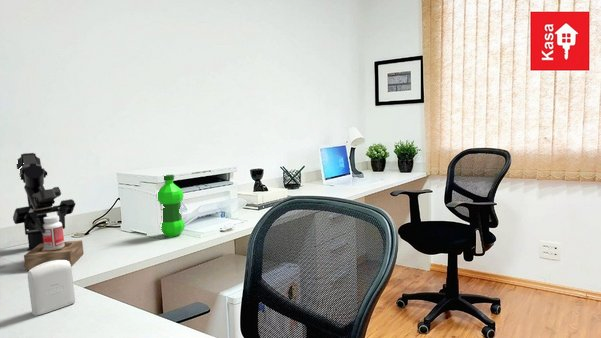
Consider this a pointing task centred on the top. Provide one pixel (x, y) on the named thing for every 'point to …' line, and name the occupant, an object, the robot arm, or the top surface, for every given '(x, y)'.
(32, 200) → the robot arm
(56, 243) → the pill bottle
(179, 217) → the plastic bottle
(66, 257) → the wooden tray
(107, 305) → the top surface
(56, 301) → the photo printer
